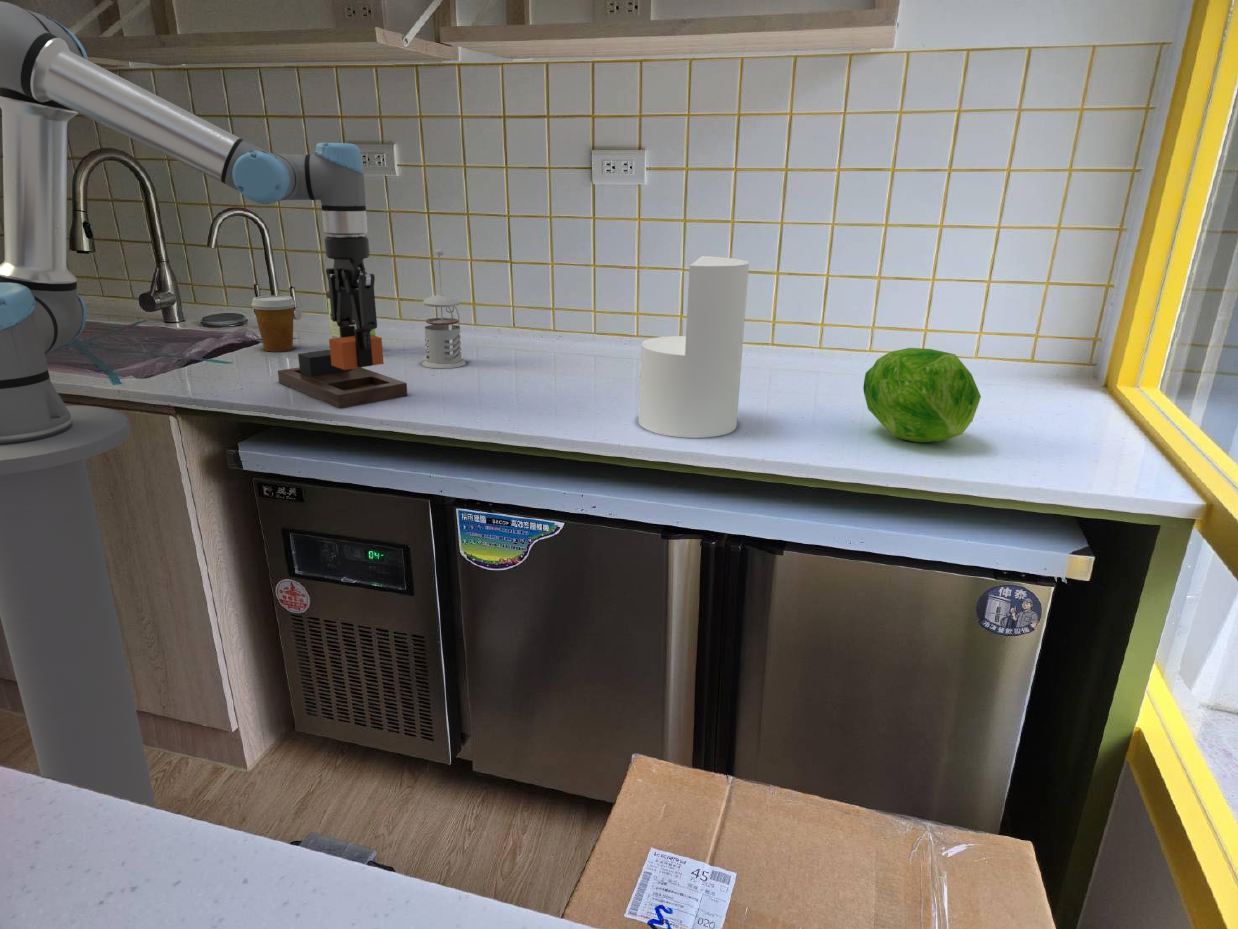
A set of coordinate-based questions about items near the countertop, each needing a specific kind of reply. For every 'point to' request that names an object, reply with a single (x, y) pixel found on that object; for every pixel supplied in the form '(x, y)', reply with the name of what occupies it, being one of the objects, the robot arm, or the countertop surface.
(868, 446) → the countertop surface
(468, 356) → the countertop surface
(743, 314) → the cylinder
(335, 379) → the brown wooden slotted tray
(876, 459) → the countertop surface
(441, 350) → the french press
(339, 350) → the orange block
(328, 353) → the black rectangular block
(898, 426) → the lettuce
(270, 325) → the disposable coffee cup
